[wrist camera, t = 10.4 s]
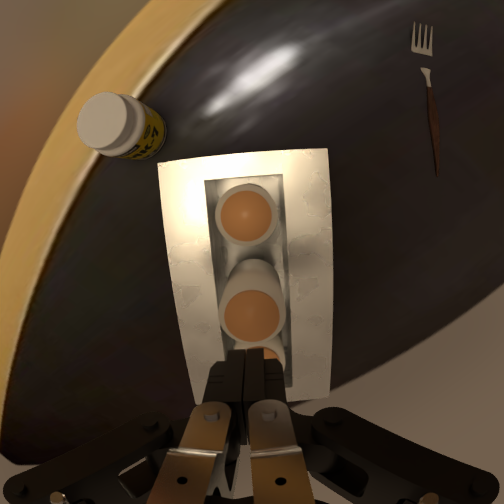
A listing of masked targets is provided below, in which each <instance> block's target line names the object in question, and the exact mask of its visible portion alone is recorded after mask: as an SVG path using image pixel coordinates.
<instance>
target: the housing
mask: <svg viewBox="0 0 504 504" xmlns="http://www.w3.org/2000/svg"><path fill="white" fill-rule="evenodd" d="M158 173H159V184H160V195H161V204H162V213H163V222H164V230H165V238H166V246H167V253H168V260H169V267H170V274H171V281H172V287H173V293H174V299H175V305H176V311H177V316H178V322H179V327H180V333H181V338H182V343H183V348H184V353H185V358H186V363H187V367H188V372H189V376H190V381H191V385H192V390H193V394H194V398H195V402H196V404H202V400H203V396H204V392H205V388H206V383H207V379H208V375H209V371H210V368H211V367H212V366H213V365H214V364H215V363H216V361H226V360H227V354H228V350H233V349H234V345H235V340H234V339H233V338H231V337H230V336H229V335H227V333H226V332H225V331H224V330H223V328H222V326H221V324H220V322H219V317H218V309H219V305H220V302H221V299H222V295H223V292H224V289H225V286H226V283H227V279H228V276H229V274H230V272H231V270H232V269H233V268H234V267H235V266H236V265H237V264H238V263H240V262H242V261H244V260H247V259H260V260H263V261H266V262H268V263H269V264H270V265H272V266H273V267H274V268H275V270H276V271H277V273H278V275H279V278H280V283H281V288H282V293H283V298H284V304H285V309H286V319H285V323H284V325H283V327H282V329H281V332H282V339H283V347H284V354H285V369H284V371H283V374H284V382H285V391H286V399H287V401H299V400H309V399H318V398H326V397H329V391H330V375H331V355H332V327H333V243H332V214H331V193H330V177H329V163H328V150H327V149H298V150H279V151H264V152H250V153H239V154H228V155H218V156H209V157H200V158H192V159H184V160H176V161H169V162H162V163H158ZM247 183H251V184H256V185H259V186H261V187H263V188H264V189H265V190H266V191H267V192H268V193H269V194H270V195H271V197H272V198H273V200H274V202H275V204H276V207H277V212H278V219H277V224H276V227H275V229H274V231H273V233H272V234H271V235H270V236H269V237H268V238H267V239H266V240H265V241H263V242H262V243H260V244H257V245H254V246H239V245H236V244H233V243H231V242H230V241H228V240H227V239H226V238H225V237H224V236H223V235H222V234H221V233H220V231H219V229H218V227H217V224H216V220H215V210H216V206H217V203H218V201H219V199H220V198H221V197H222V195H223V194H224V193H225V192H226V191H228V190H229V189H231V188H233V187H235V186H238V185H242V184H247Z"/></svg>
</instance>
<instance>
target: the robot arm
mask: <svg viewBox="0 0 504 504" xmlns="http://www.w3.org/2000/svg"><path fill="white" fill-rule="evenodd" d="M247 435H248V442H249V445H250V450H251V453H250V459H251V472H252V484H253V496H249V497H245V498H240V499H233V496H234V490H235V484H236V479H237V473H238V467H239V461H240V459H239V454H240V445H247ZM144 457H145V458H146V460H145V461H144V462H142V463H140V464H139V465H137V466H135V467H133V468H132V469H130V470H128V471H127V472H125V473H123V474H121V475H120V476H118V475H119V473H120V472H121V471H122V470H124V469H125V468H127V467H129V466H130V465H132V464H134V463H136V462H137V461H139V460H140V459H142V458H144ZM307 471H309V472H310V474H311V476H312V477H314V478H315V479H316V480H318V481H319V482H321V483H322V484H324V485H325V486H327V487H328V488H330V489H331V490H333V491H334V492H336V493H337V494H339V495H341V496H342V497H344V498H345V499H347V500H348V501H350V502H352V503H353V504H492V502H493V501H494V500H495V499H496V497H497V496H498V493H499V488H500V487H499V482H498V480H497V478H496V477H495V476H494V475H493V474H491V473H490V472H487V471H484V470H481V469H479V468H476V467H473V466H470V465H468V464H465V463H462V462H460V461H457V460H455V459H452V458H450V457H447V456H445V455H442V454H440V453H437V452H435V451H432V450H430V449H428V448H425V447H423V446H420V445H418V444H416V443H414V442H412V441H409V440H407V439H405V438H403V437H401V436H398V435H396V434H394V433H392V432H390V431H388V430H386V429H384V428H382V427H379V426H377V425H375V424H373V423H371V422H369V421H367V420H365V419H363V418H361V417H359V416H357V415H355V414H353V413H351V412H349V411H347V410H345V409H343V408H339V407H328V408H324V409H321V410H319V411H318V412H316V413H315V415H314V416H306V415H301V414H298V413H295V412H294V411H292V410H291V409H290V408H289V407H288V405H287V399H286V391H285V382H284V374H283V366H282V364H281V363H280V361H279V360H278V359H277V358H273V359H264V348H252V349H247V350H246V349H233V350H228V354H227V360H226V361H216V363H215V364H214V365H213V366H212V367H211V368H210V371H209V375H208V379H207V383H206V388H205V392H204V396H203V400H202V404H200V405H198V406H197V407H196V408H195V409H194V410H193V412H192V414H191V416H190V417H188V418H185V419H180V420H175V421H169V418H168V417H167V416H166V415H164V414H162V413H159V412H147V413H144V414H141V415H139V416H137V417H135V418H134V419H132V420H130V421H128V422H126V423H124V424H123V425H121V426H119V427H117V428H115V429H113V430H111V431H109V432H107V433H106V434H104V435H102V436H100V437H98V438H96V439H94V440H92V441H90V442H88V443H86V444H84V445H82V446H80V447H78V448H76V449H73V450H71V451H69V452H67V453H65V454H63V455H61V456H59V457H56V458H54V459H52V460H50V461H48V462H45V463H43V464H41V465H39V466H36V467H34V468H32V469H29V470H27V471H25V472H22V473H20V474H17V475H15V476H13V477H11V478H9V479H8V480H7V481H6V483H5V484H4V487H3V494H4V497H5V499H6V500H7V501H8V502H9V503H10V504H328V503H326V502H323V501H319V500H315V499H314V496H313V492H312V488H311V484H310V480H309V477H308V473H307Z"/></svg>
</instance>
